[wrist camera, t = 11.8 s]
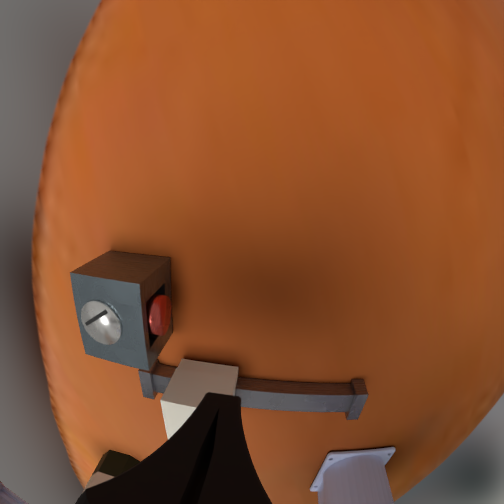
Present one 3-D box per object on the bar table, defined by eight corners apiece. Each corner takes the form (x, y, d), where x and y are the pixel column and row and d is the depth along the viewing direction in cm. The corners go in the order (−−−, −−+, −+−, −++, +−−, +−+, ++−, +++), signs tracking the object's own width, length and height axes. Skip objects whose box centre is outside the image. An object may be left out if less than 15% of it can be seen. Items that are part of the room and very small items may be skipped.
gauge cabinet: (172, 332, 21) (147, 374, 16) (117, 321, 21) (83, 356, 16) (170, 257, 20) (136, 286, 14) (109, 250, 20) (67, 274, 15)
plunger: (172, 323, 19) (159, 343, 17) (119, 314, 19) (102, 330, 17) (170, 289, 18) (156, 306, 16) (116, 281, 19) (97, 295, 16)
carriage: (235, 407, 22) (227, 453, 17) (185, 399, 23) (168, 442, 18) (238, 364, 21) (228, 412, 16) (181, 356, 21) (160, 400, 16)
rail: (353, 403, 22) (357, 419, 20) (151, 382, 23) (143, 396, 21) (363, 379, 21) (368, 394, 19) (147, 356, 22) (138, 370, 20)
